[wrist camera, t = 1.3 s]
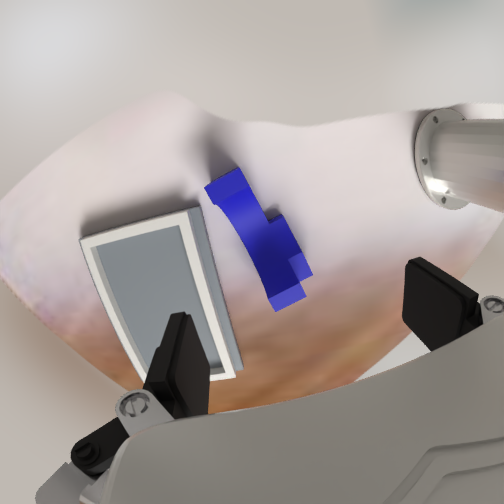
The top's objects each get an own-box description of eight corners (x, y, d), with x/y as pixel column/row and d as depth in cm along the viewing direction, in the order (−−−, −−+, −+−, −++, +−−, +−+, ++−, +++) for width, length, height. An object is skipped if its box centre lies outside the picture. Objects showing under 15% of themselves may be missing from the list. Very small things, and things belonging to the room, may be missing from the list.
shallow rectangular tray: (200, 205, 26) (197, 209, 24) (243, 364, 32) (244, 376, 30) (82, 236, 26) (73, 242, 24) (143, 375, 32) (139, 386, 30)
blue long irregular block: (305, 263, 29) (322, 288, 23) (267, 283, 29) (275, 312, 23) (252, 159, 25) (257, 158, 19) (211, 182, 25) (204, 187, 20)
